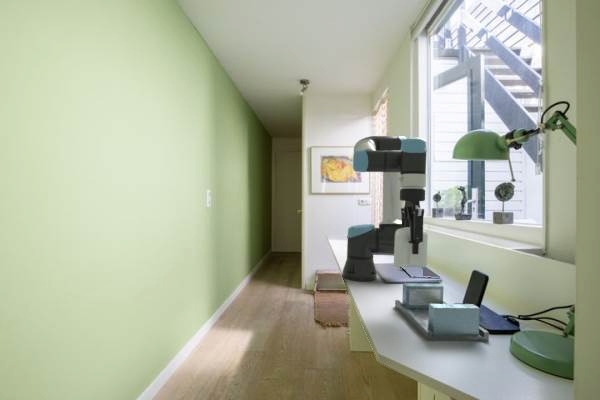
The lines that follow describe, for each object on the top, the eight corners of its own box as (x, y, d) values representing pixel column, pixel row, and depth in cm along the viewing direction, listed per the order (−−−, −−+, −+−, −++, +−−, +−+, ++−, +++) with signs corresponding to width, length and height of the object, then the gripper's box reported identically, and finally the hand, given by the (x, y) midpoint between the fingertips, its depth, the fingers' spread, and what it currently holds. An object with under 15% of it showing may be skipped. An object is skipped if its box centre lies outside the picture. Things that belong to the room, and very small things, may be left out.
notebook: (439, 280, 143) (424, 269, 164) (440, 276, 143) (424, 265, 164) (411, 278, 144) (399, 268, 165) (411, 275, 144) (399, 264, 165)
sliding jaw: (402, 304, 104) (402, 283, 104) (438, 305, 105) (439, 283, 105) (405, 308, 101) (406, 286, 101) (442, 308, 102) (443, 286, 101)
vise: (395, 306, 105) (395, 282, 105) (442, 307, 106) (443, 283, 106) (427, 340, 81) (428, 309, 81) (488, 340, 82) (489, 309, 82)
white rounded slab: (421, 265, 103) (422, 226, 103) (428, 268, 99) (430, 228, 99) (391, 265, 101) (392, 226, 101) (398, 268, 97) (399, 227, 97)
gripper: (391, 189, 109) (390, 257, 109) (410, 186, 91) (408, 268, 91) (413, 189, 109) (412, 258, 109) (437, 187, 91) (434, 269, 91)
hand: (410, 262), depth 100 cm, fingers closed on white rounded slab, 5 cm apart
